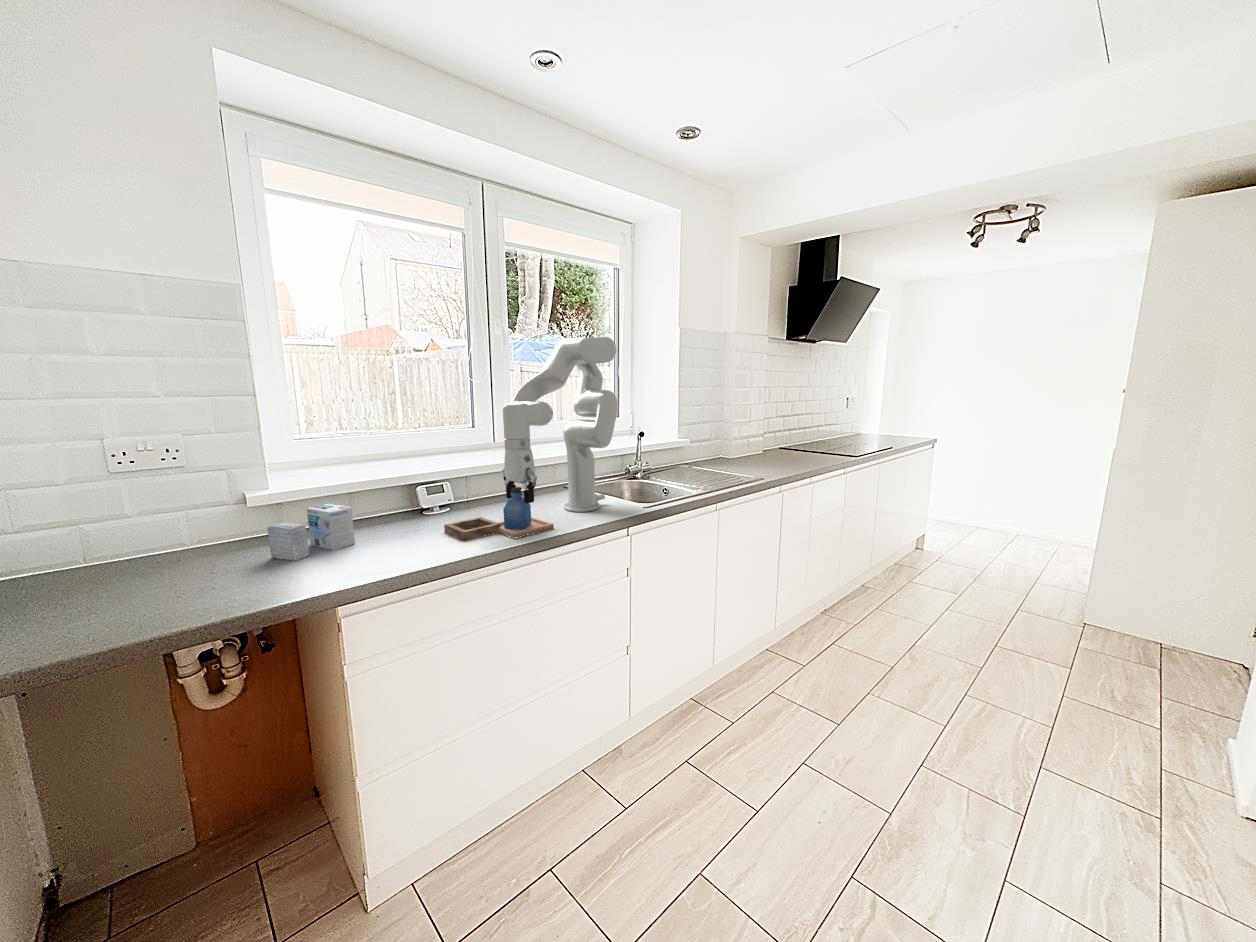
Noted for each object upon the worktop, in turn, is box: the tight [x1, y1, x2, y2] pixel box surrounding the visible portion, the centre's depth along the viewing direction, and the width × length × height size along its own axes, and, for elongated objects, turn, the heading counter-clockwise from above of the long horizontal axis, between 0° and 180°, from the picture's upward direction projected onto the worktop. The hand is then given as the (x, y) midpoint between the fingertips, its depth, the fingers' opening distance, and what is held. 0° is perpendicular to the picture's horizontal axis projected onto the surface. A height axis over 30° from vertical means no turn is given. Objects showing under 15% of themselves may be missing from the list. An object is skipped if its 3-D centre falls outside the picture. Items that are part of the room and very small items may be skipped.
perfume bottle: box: [503, 486, 532, 530], centre depth 153 cm, size 6×6×12 cm
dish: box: [497, 516, 555, 538], centre depth 154 cm, size 14×14×2 cm
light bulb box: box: [306, 503, 356, 551], centre depth 140 cm, size 11×7×11 cm, turn 62°
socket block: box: [443, 516, 501, 542], centre depth 151 cm, size 12×12×2 cm
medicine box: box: [267, 522, 310, 562], centre depth 130 cm, size 8×4×9 cm, turn 74°
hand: (520, 500), depth 153 cm, fingers open, 9 cm apart
